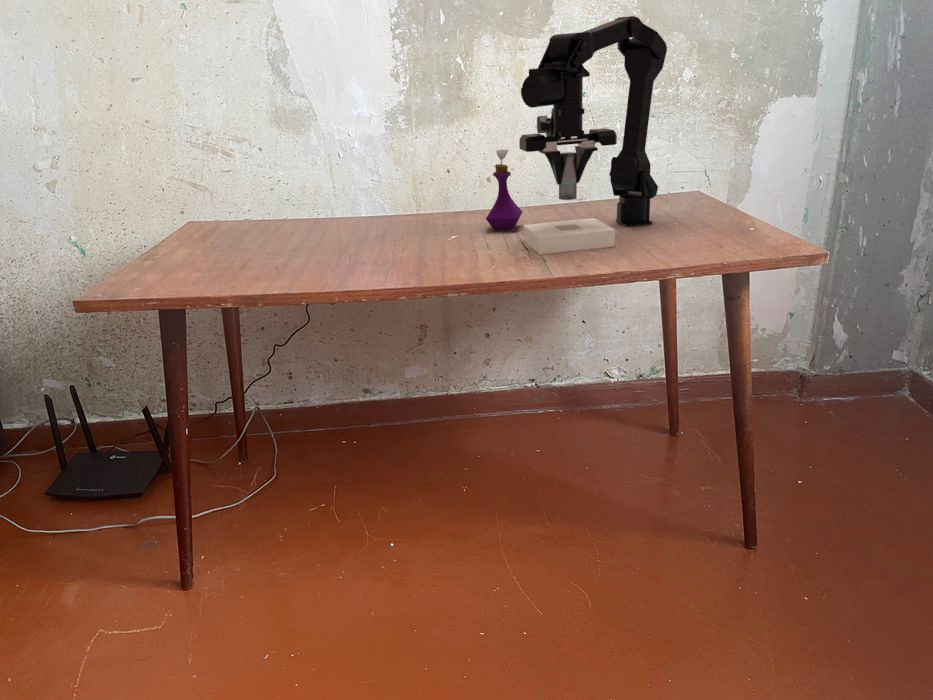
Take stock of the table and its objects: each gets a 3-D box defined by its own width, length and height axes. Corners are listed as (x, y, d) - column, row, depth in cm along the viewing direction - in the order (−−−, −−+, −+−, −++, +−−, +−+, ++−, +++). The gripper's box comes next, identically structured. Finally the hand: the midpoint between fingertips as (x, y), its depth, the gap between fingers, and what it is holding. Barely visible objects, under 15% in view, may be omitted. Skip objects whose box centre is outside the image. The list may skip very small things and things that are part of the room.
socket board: (593, 233, 156) (594, 218, 155) (614, 246, 145) (615, 229, 144) (523, 241, 153) (523, 225, 152) (539, 254, 143) (539, 237, 141)
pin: (573, 196, 148) (573, 151, 144) (579, 198, 144) (579, 153, 141) (556, 197, 147) (556, 153, 144) (562, 200, 144) (561, 155, 140)
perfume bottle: (518, 232, 161) (516, 151, 154) (486, 232, 163) (482, 152, 156) (522, 225, 168) (520, 147, 161) (491, 225, 169) (488, 148, 162)
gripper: (598, 98, 147) (597, 174, 153) (511, 104, 144) (513, 181, 150) (618, 100, 137) (616, 181, 143) (526, 107, 134) (527, 190, 140)
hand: (567, 183), depth 145 cm, fingers closed on pin, 4 cm apart
